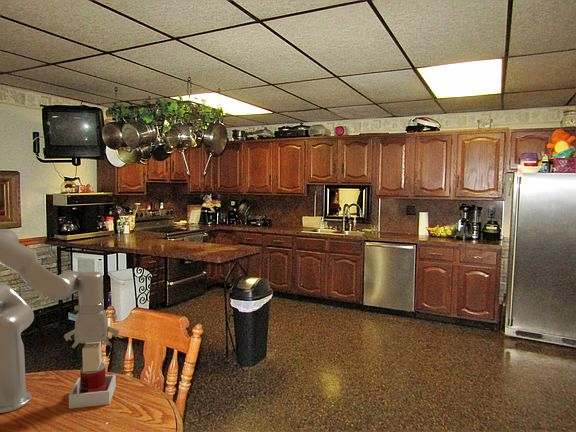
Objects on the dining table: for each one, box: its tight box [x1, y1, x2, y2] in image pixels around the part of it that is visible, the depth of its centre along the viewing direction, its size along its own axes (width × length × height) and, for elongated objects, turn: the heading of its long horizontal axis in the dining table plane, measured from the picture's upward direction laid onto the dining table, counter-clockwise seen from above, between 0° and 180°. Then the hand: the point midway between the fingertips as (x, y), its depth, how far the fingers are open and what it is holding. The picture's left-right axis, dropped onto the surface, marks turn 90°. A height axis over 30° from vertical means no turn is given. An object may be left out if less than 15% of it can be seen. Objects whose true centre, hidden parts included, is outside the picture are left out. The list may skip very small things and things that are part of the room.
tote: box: [68, 374, 117, 409], centre depth 140 cm, size 12×12×4 cm
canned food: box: [79, 361, 107, 393], centre depth 140 cm, size 8×8×11 cm
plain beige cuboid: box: [81, 342, 103, 372], centre depth 139 cm, size 4×7×8 cm, turn 14°
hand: (92, 356), depth 139 cm, fingers open, 9 cm apart
